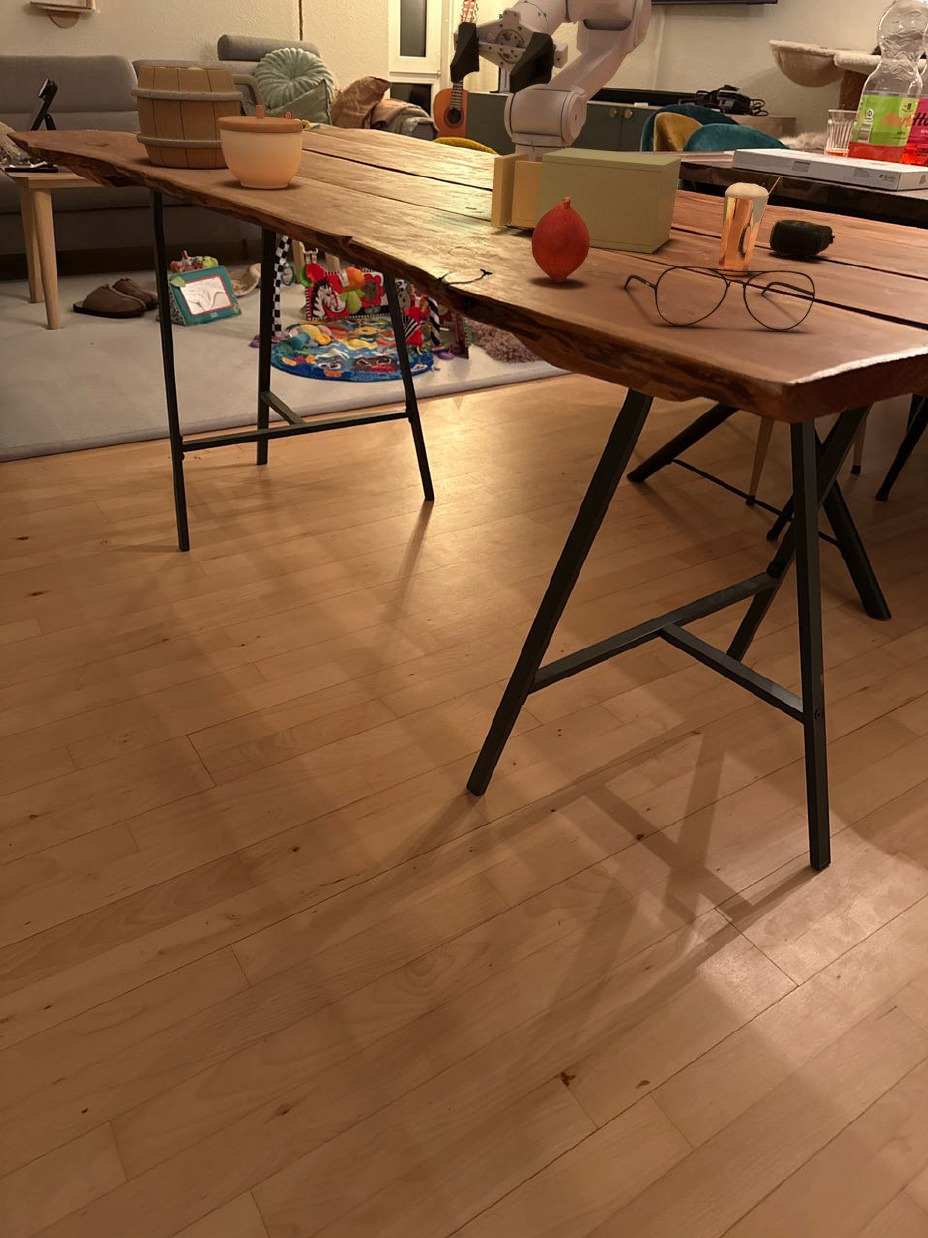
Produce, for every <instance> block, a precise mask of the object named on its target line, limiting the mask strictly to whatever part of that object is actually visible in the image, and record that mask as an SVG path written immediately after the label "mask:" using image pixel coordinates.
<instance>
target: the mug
mask: <svg viewBox="0 0 928 1238" xmlns="http://www.w3.org/2000/svg"><path fill="white" fill-rule="evenodd" d="M138 70H139V71H138V76H137V77H138V78H137V84H136V86H133V87H131V88H130V96H131V97H136V107H137V115H138V122H139V123H138V124H139V130H140V132H139V133H136V134H135V137H136V140H137V141H136V142H137V143H138V144H141V145H144V147H145V150H146V153H147V156H148V158H149V160H150V163H151V164H152V165H156V166H159V167H167V168H177V169H207V170H208V169H227V168H228V166H227V164H226V161H225V159H224V155H223V152H222V147H221V140H220V128H219V127H218V119H219V118H222V117H234V116H241V108H240V101H243V100H244V99H245V98H244V94H243V92H242V91H240V90H237V88H236V86H246V88H247V90H248V92H249V95H250V98H251V101H252V104H253V108H254V111H255V112H256V105H262V106H264V117H268V113H267V108H266V105H265V102H264V99H263V95H262V92H261V89H260V86H259V83H258V80H257V79H256V78H255V76H254V75H250V74H243V73H231V70H230V69H227V68H216V67H203V66H202V67H201V66H182V65H152V64H151V65H148V64H147V65H140V66H139V69H138Z"/></svg>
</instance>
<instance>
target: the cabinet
mask: <svg viewBox="0 0 928 1238" xmlns="http://www.w3.org/2000/svg"><path fill="white" fill-rule="evenodd" d="M681 164H682V157H679V156H671V155H669V156H668V155H659V154H648V153H647V154H646V153H634V152H624V151H614V150H613V151H610V150H601V149H600V150H599V149H589V148H588V149H587V148H579V147H578V148H577V147H576V148H575V147H567V148H566V149H562V150H558V151H554V152H550V153H546V154H542V165H541V177H540V189H539V201H538V214H537V224H538V222H539V221H540V219H541V218H542V217H543V216H544V215H545V214H546V213H547V212H549V211H550V210H551V209H553V208H555V207H556V206H557V205H558V204H559V203H560V202H561V201H562V200H563V198H565V197H570V200H571V207H572V209H573V210H574V211H575V212H577V213H578V214H579V215H580V217H581V218H582V219H583V221H584V223H585V224H586V227H587V229H588V232H589V237H590V248H592V247H593V248H600V249H601V248H602V249H609V250H616V251H617V250H619V251H626V252H634V253H635V252H636V253H644V254H653V253H654V252H655V251H656V250H657V249H659V248H660V247H662V246H663V245H664V244H665V243H666V242H667V241H669V240H670V235H671V230H672V224H673V216H674V209H675V203H676V196H677V189H678V185H679V177H680V171H681Z"/></svg>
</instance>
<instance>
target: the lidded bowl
mask: <svg viewBox="0 0 928 1238" xmlns="http://www.w3.org/2000/svg"><path fill="white" fill-rule="evenodd" d="M218 127H219V128H220V140H221V147H222V152H223V155H224V159H225V161H226V164H227V166H228V167H227V168H228V169H229V171H230V173H231V174H232V175H233V176H234V177H235V178H236V179H237V181H239V183H240V186H242V187H245V188H251V189H263V190H264V189H266V190H268V189H270V190H272V189H273V190H274V189H284V188H288V186H289V185H288V184H289V183H290V182H291V181H292V179H294V177H295V176H296V174H297V173H298V171H299V169H300V165H301V161H302V155H303V131H304V125H303V122H302V120H298V119H292V118H286V117H275V116H274V117H273V116H267V117H264V106H262V105H256V111H255V115H254V116H252V115H247V116H246V115H245V116H243V115H242V116H241V115H240V116H234V117H222V118H219V119H218Z"/></svg>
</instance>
